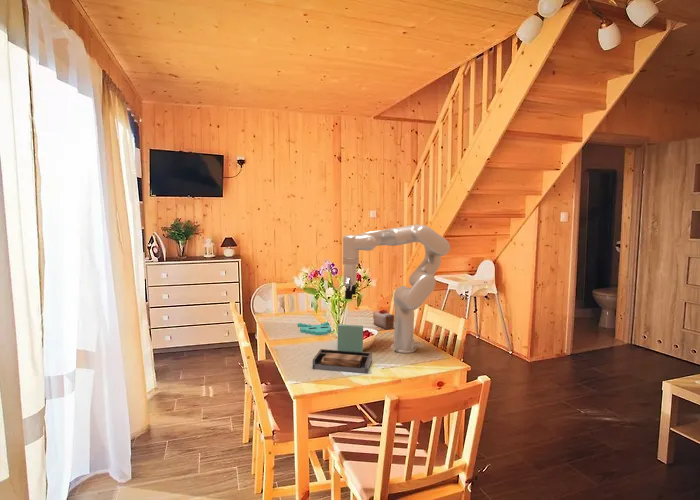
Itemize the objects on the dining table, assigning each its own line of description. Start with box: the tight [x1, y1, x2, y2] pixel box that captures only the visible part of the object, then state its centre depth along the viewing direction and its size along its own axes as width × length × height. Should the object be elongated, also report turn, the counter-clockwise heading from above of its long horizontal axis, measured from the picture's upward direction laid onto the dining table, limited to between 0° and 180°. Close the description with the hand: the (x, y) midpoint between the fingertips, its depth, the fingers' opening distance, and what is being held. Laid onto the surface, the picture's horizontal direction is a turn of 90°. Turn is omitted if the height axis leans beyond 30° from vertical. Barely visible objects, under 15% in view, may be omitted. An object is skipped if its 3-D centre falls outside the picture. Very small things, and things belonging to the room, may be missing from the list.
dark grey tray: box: [312, 348, 373, 374], centre depth 191 cm, size 24×14×5 cm, turn 79°
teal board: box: [336, 323, 364, 352], centre depth 207 cm, size 12×2×14 cm, turn 79°
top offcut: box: [324, 353, 362, 364], centre depth 188 cm, size 16×6×2 cm, turn 77°
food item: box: [372, 309, 395, 330], centre depth 253 cm, size 14×8×10 cm, turn 34°
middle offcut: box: [321, 356, 358, 367], centre depth 189 cm, size 16×6×2 cm, turn 82°
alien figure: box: [297, 320, 331, 336], centre depth 245 cm, size 20×2×20 cm
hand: (350, 296), depth 204 cm, fingers open, 9 cm apart
